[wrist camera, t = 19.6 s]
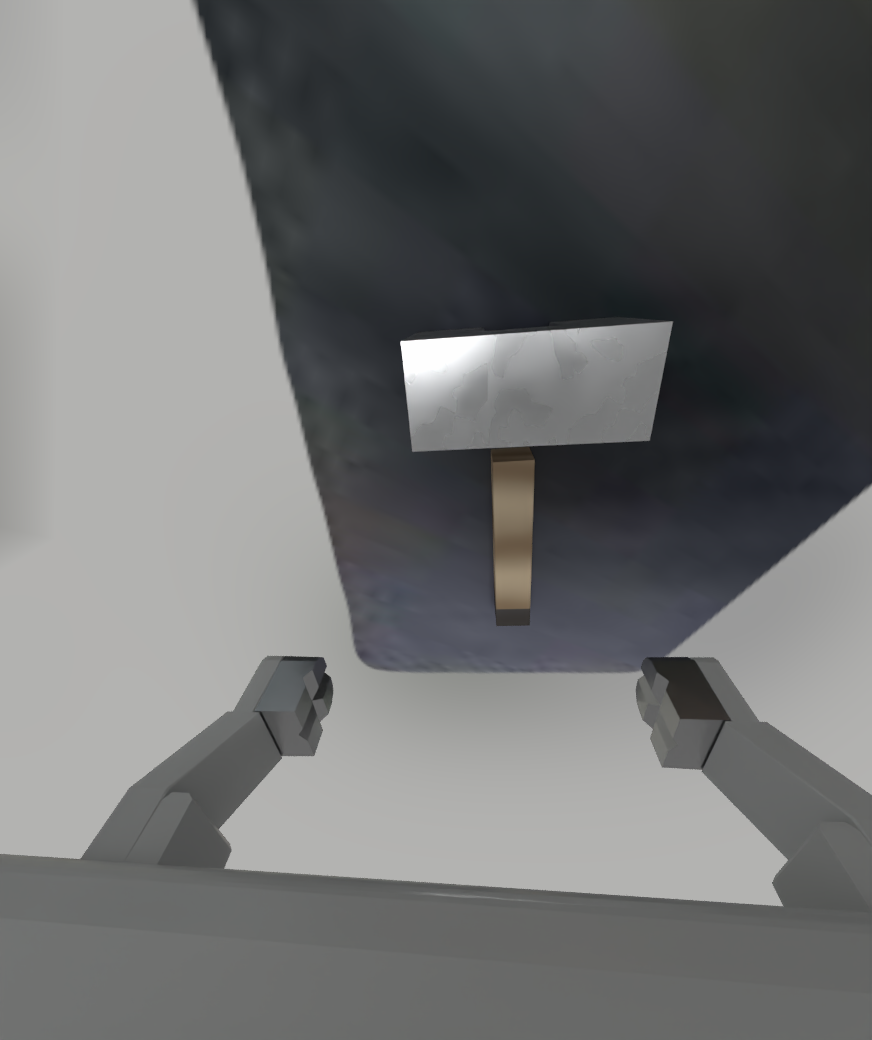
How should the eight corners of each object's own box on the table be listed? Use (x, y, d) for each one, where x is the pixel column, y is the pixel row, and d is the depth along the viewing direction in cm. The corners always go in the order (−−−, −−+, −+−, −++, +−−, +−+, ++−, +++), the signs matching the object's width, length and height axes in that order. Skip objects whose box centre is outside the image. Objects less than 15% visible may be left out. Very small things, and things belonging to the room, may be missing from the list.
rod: (490, 449, 31) (492, 462, 29) (529, 446, 31) (534, 459, 28) (494, 604, 39) (496, 625, 36) (525, 603, 38) (529, 625, 36)
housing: (418, 332, 27) (400, 341, 20) (618, 316, 26) (672, 321, 19) (425, 417, 30) (412, 451, 23) (605, 407, 29) (649, 440, 22)
